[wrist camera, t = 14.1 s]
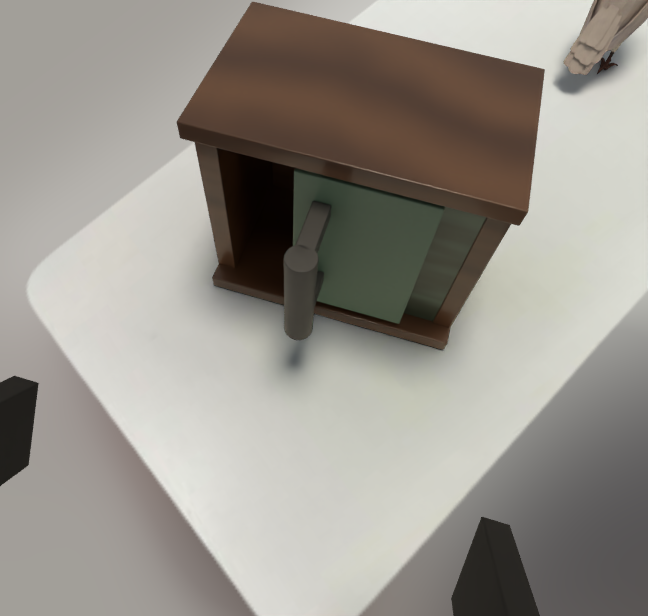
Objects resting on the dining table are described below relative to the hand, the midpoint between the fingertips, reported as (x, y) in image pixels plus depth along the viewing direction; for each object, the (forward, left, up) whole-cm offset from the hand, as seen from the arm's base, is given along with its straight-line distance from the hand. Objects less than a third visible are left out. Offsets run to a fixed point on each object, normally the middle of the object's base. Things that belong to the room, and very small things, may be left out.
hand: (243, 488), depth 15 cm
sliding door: (-12, +3, -14) cm, 19 cm away
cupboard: (-19, +3, -15) cm, 25 cm away
